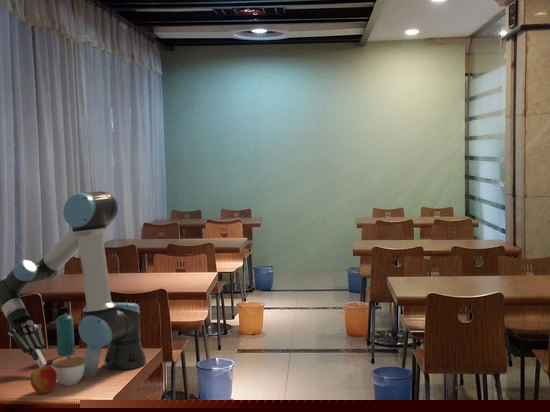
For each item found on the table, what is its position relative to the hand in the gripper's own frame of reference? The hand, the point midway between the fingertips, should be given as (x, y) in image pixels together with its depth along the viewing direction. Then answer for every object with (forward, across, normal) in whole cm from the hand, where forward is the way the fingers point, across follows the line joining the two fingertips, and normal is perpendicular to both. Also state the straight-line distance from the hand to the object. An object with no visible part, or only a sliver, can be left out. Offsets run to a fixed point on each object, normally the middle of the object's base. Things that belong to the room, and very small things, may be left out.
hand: (43, 365), depth 257 cm
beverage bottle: (-7, -19, -13) cm, 24 cm away
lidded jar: (+13, 0, +8) cm, 15 cm away
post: (+11, -10, +6) cm, 16 cm away
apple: (+15, +11, +10) cm, 21 cm away
